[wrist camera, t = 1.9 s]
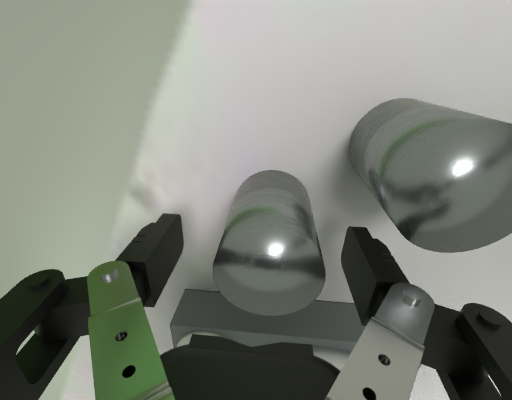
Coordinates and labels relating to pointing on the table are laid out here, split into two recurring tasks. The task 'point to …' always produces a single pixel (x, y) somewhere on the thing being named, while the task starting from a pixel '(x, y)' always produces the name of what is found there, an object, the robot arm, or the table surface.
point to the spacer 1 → (270, 247)
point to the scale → (270, 325)
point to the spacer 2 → (437, 173)
